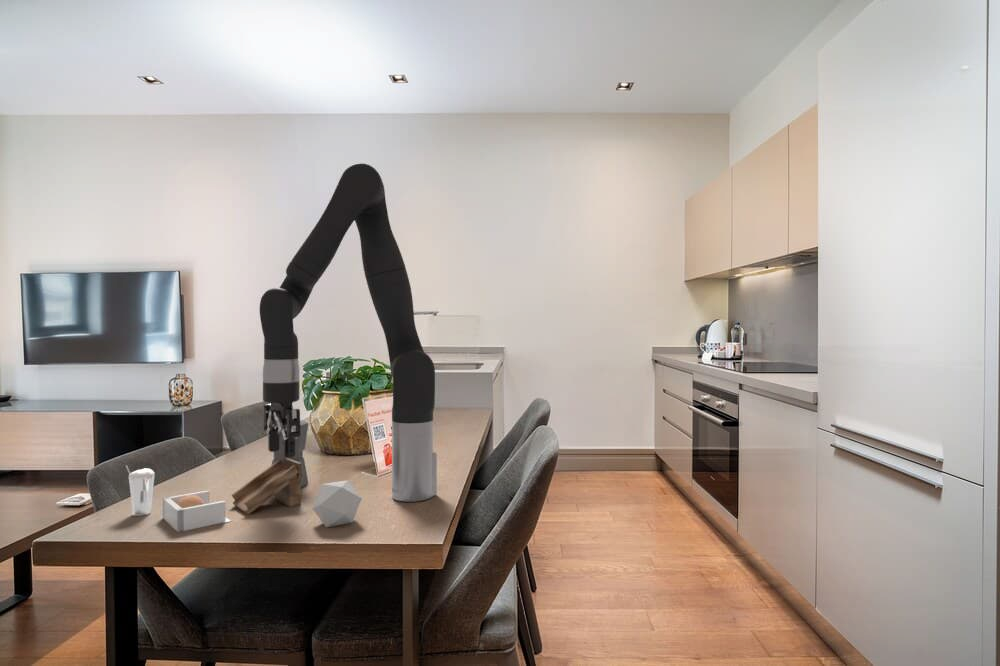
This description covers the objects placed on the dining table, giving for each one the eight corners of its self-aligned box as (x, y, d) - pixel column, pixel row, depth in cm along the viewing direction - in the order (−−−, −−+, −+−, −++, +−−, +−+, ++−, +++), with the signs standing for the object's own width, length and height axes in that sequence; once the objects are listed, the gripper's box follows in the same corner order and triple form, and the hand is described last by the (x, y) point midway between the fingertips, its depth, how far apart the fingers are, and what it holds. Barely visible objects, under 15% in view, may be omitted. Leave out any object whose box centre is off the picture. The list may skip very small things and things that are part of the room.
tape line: (212, 508, 121) (212, 507, 121) (231, 521, 113) (231, 520, 113) (206, 509, 121) (206, 508, 121) (224, 522, 112) (224, 522, 112)
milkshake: (132, 510, 120) (132, 462, 120) (159, 510, 120) (159, 462, 120) (119, 517, 115) (119, 467, 115) (147, 517, 115) (147, 467, 116)
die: (353, 516, 118) (325, 479, 117) (377, 502, 113) (347, 464, 113) (327, 543, 111) (296, 503, 110) (350, 529, 106) (318, 488, 106)
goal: (208, 509, 120) (208, 490, 120) (225, 522, 112) (225, 501, 112) (162, 518, 115) (162, 498, 115) (177, 532, 107) (177, 510, 107)
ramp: (286, 495, 130) (286, 457, 130) (301, 503, 124) (301, 463, 124) (231, 506, 122) (231, 465, 122) (244, 515, 116) (244, 472, 116)
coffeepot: (305, 491, 134) (305, 414, 134) (262, 493, 132) (262, 415, 132) (312, 475, 149) (312, 406, 149) (274, 477, 147) (274, 407, 147)
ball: (168, 502, 113) (179, 523, 114) (175, 507, 109) (186, 529, 110) (194, 487, 116) (204, 508, 117) (201, 492, 112) (212, 514, 113)
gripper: (311, 380, 123) (312, 456, 123) (285, 377, 133) (285, 447, 133) (277, 382, 118) (277, 461, 118) (251, 379, 128) (252, 451, 128)
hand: (281, 453), depth 125 cm, fingers open, 8 cm apart
